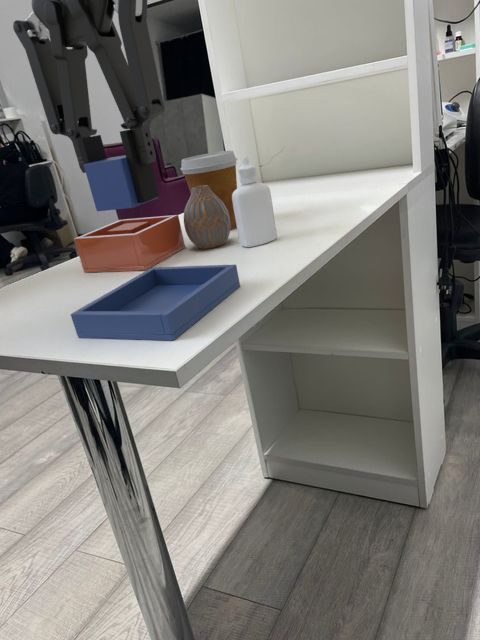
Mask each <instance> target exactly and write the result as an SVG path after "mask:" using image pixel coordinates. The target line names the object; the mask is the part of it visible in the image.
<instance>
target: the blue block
mask: <svg viewBox="0 0 480 640" xmlns="http://www.w3.org/2000/svg"><path fill="white" fill-rule="evenodd" d="M84 168H85V172H86V173H85V175H86V179H87V182H88V185H89V189H90V192H91V196H92V200H93V203H94V206H95V210H96V212H105V211H115V210H126V209H133V208H136V207H138V206H141V205H144V204H147V203H149V202H152V201H154V200H157V199H159V197H157V198H154V199H152V200H149V201H147V202H143V203H138V201H137V197H136V193H135V189H134V185H133V182H132V178H131V174H130V170H129V166H128V162H127V158H126V155H125V154H124V155H119V156H111V157H108V158H107V159H103V160H99V161H95V162H91V163H87V164H84Z"/></svg>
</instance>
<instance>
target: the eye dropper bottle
mask: <svg viewBox="0 0 480 640" xmlns="http://www.w3.org/2000/svg"><path fill="white" fill-rule="evenodd" d="M241 162H242V163H241V166H240V167H239V168H238V176H239V183H240V186H238V187H237V189H236V190H235V191H234V192H233V194H232V202H233V208H234V214H235V219H236V225H237V227H236V230H237V235H238V241H239V245H240V246H242V247H245V248H254V247H258V246H262V245H265V244H269V243H271V242H273V241H274V240H276V239H277V238H278V231H277V225H276V218H275V211H274V206H273V199H272V192H271V189H270V187H269V185H268V184H265V183H261V182H258V175H257V173H258V172H257V168H256V166H255V165H253V164H251V162H250V160H249V157H248V156H243V157H242V161H241Z"/></svg>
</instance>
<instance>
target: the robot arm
mask: <svg viewBox="0 0 480 640" xmlns="http://www.w3.org/2000/svg"><path fill="white" fill-rule="evenodd" d="M31 9H32V10H31V12H30V13H29V14H28V15H27V16H26V18H25V19H24V20H19V19H16V20H14V21H13V22H12V23H13V24H12V26H13V27H12V28H13V29H12V30H13V32H14V33H15V35H16V37H17V38H18V40H19V42H20V44H21V45H22V47H23V48H24V50H25V54H26V57H27V60H28V63H29V66H30V70H31V72H32V76H33V79H34V82H35V85H36V89H37V91H38V95H39V98H40V101H41V105H42V107H43V111H44V115H45V118H46V121H47V123H48V126H49V130H50V132H51V133H52V134H54V135H61V136H65V137H68V138H69V140H70V141H71V142H72V143H71V144H72V145H73V146H72V147H73V148H74V152H75V156H76V159H77V164H78V166H79V169H80V171H81V172H82V174H86V172H85V168H84V164H87V163H91V162H95V161H99V160H103V159H107V153H106V151H105V147H104V143H103V139H102V135H101V134H98V135H97V133H98V129H97V128H93V124H92V116H91V115H92V114H91V104H90V97H89V85H88V76H87V75H88V74H87V67H86V66H87V65H86V60H87V58H88V55H89V54H88V53H89V52H88V49H89V50H90V52H92V53H93V54H94V56H95V58H96V61H97V63H98V65H99V67H100V70H101V72H102V74H103V76H104V79H105V81H106V84H107V86H108V88H109V90H110V93H111V95H112V97H113V99H114V102H115V104H116V106H117V109H118V111H119V113H120V115H121V118H122V120H123V122H122V123H120V127H121V128H122V129H123V130H121V131H119V135H120V139H121V143H122V147H123V151H124V155H126V158H127V162H128V166H129V170H130V174H131V178H132V182H133V185H134V189H135V193H136V197H137V201H138V203H143V202H147V201H149V200H152V199H154V198H157V197H158V198H159V197H160V193H159V188H158V185H157V180H156V176H155V172H154V168H153V165H152V163H155V162H157V161H156V160H157V154H156V150H155V146H154V141H153V136H152V133H151V123H152V121H154V120H155V119H156V118H157V117H159V116H162V115H163V114H165V110H166V108H165V103H164V99H163V93H162V88H161V84H160V79H159V78H160V77H159V75H158V69H157V64H156V60H155V55H154V49H153V45H152V41H151V35H150V32H149V31H150V30H149V27H148V22H147V19H148V0H31ZM115 12H116V13H117V16H118V26H119V31H120V35H121V36H120V35H119V32H118V30H117V28H116V25H115V23H114V15H115ZM122 45H123V49H124V52H123V49H122ZM124 53H125V54H124ZM125 56H126V57H125ZM158 198H157V199H158ZM154 200H155V199H154ZM152 201H153V200H152ZM149 202H150V201H149ZM147 203H148V202H147Z"/></svg>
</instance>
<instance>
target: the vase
mask: <svg viewBox="0 0 480 640" xmlns="http://www.w3.org/2000/svg"><path fill="white" fill-rule="evenodd" d="M183 224H184V225H183V226H184V230H185V233H186V235H187V237H188V239H189V240H190V242H191V243H192V245H194V246H195V247H197V248H199V249H202V250H207V249H215V248H218V247H221V246H224V244H225V243H226V242H227V240H228V238H229V236H230V233H231V230H230V225H231V224H230V217H229V213H228V210H227V208H226V206H225V205H224V203H223V202H222V201H221V200H220V199H219V198H218V197H217V196H216V195H215V194H214V193H213V192H212V191H211V189H210V188H209V186H208V185H202V186H197V187H193V188H192V191H191V193H190V196H189V199H188V200H187V203H186V204H185V207H184V211H183Z"/></svg>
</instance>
